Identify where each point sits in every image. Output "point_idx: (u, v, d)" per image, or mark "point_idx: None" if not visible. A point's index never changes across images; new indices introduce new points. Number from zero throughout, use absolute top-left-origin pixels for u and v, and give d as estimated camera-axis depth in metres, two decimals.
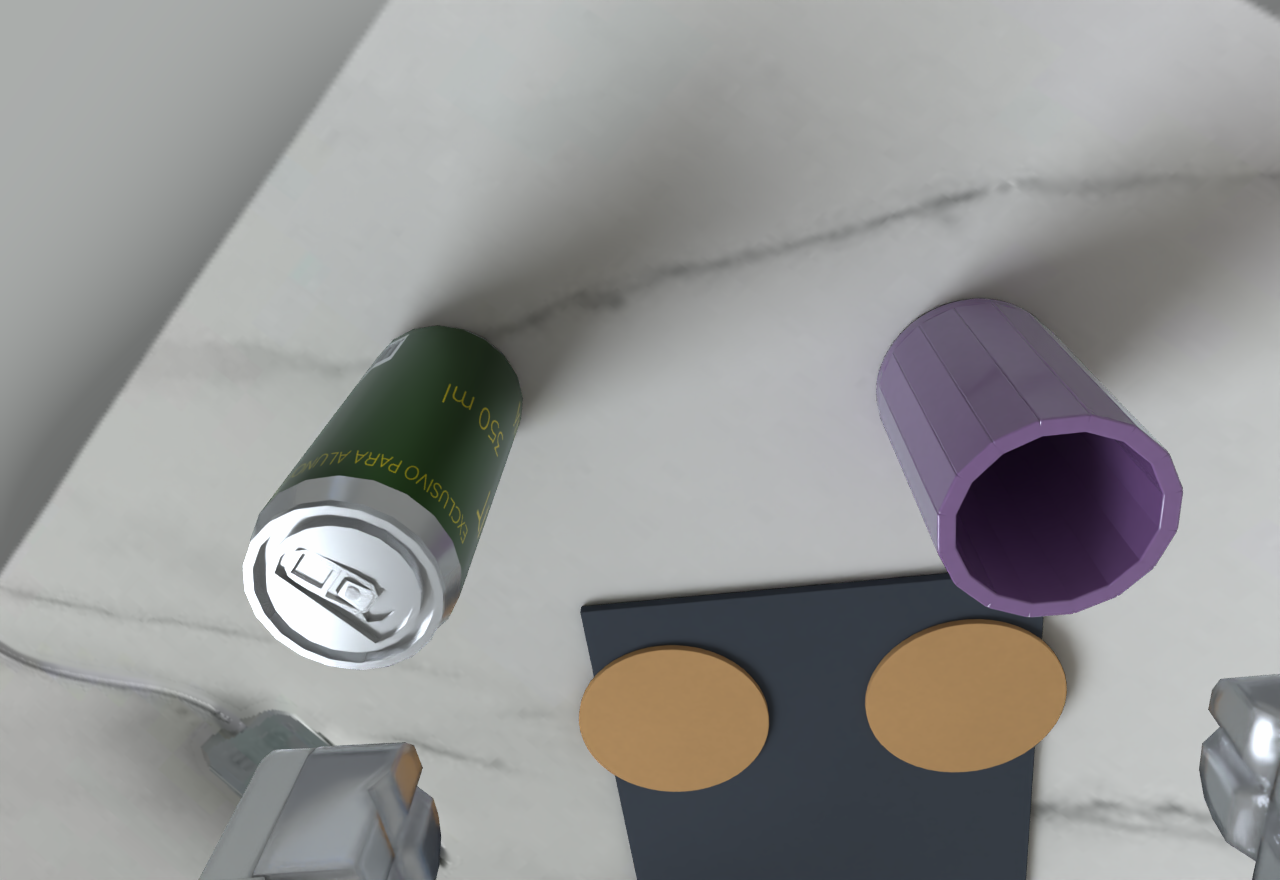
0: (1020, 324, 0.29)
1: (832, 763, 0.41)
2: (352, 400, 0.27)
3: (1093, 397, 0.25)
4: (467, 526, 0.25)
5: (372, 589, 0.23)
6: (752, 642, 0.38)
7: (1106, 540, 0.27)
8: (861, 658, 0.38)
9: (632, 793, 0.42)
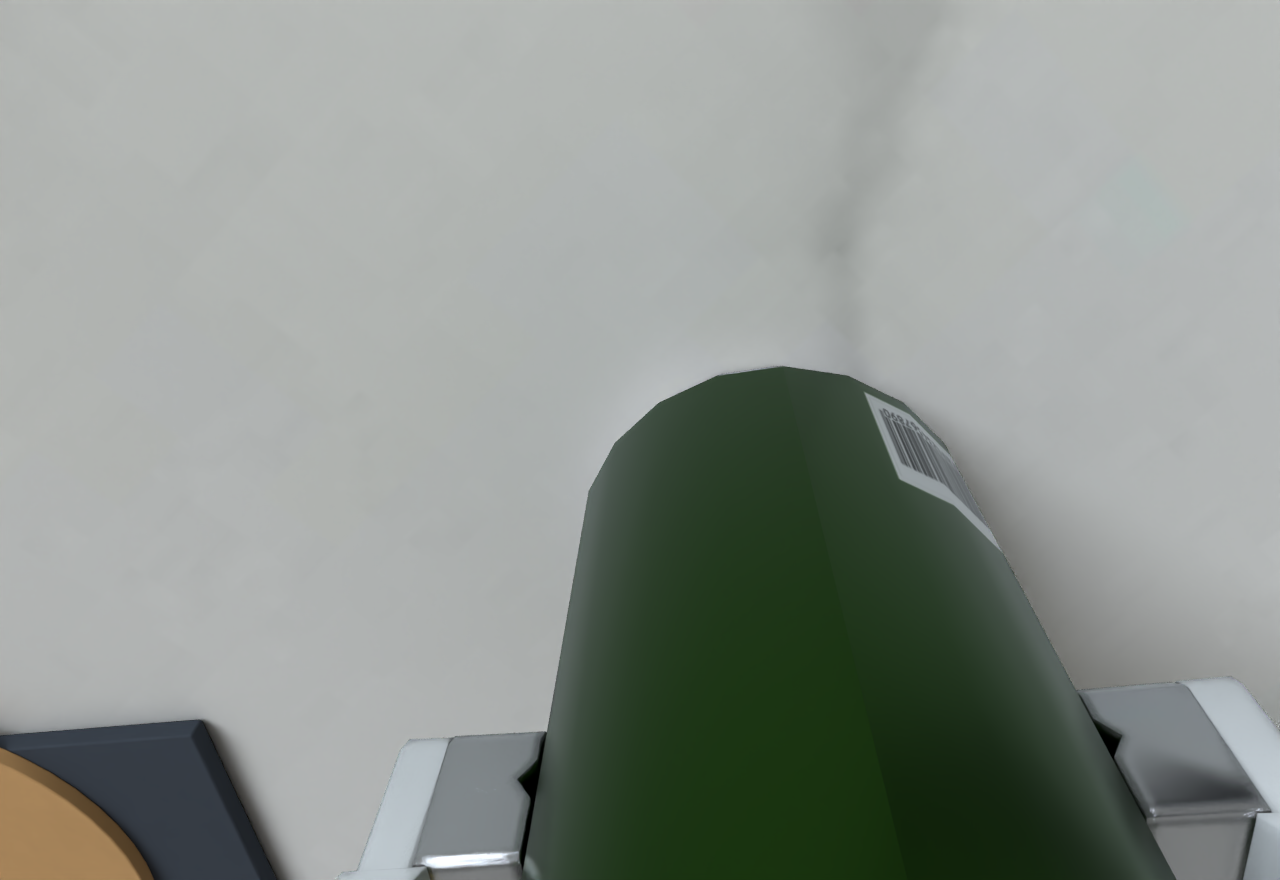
0: None
1: None
2: None
3: None
4: None
5: None
6: None
7: None
8: None
9: None
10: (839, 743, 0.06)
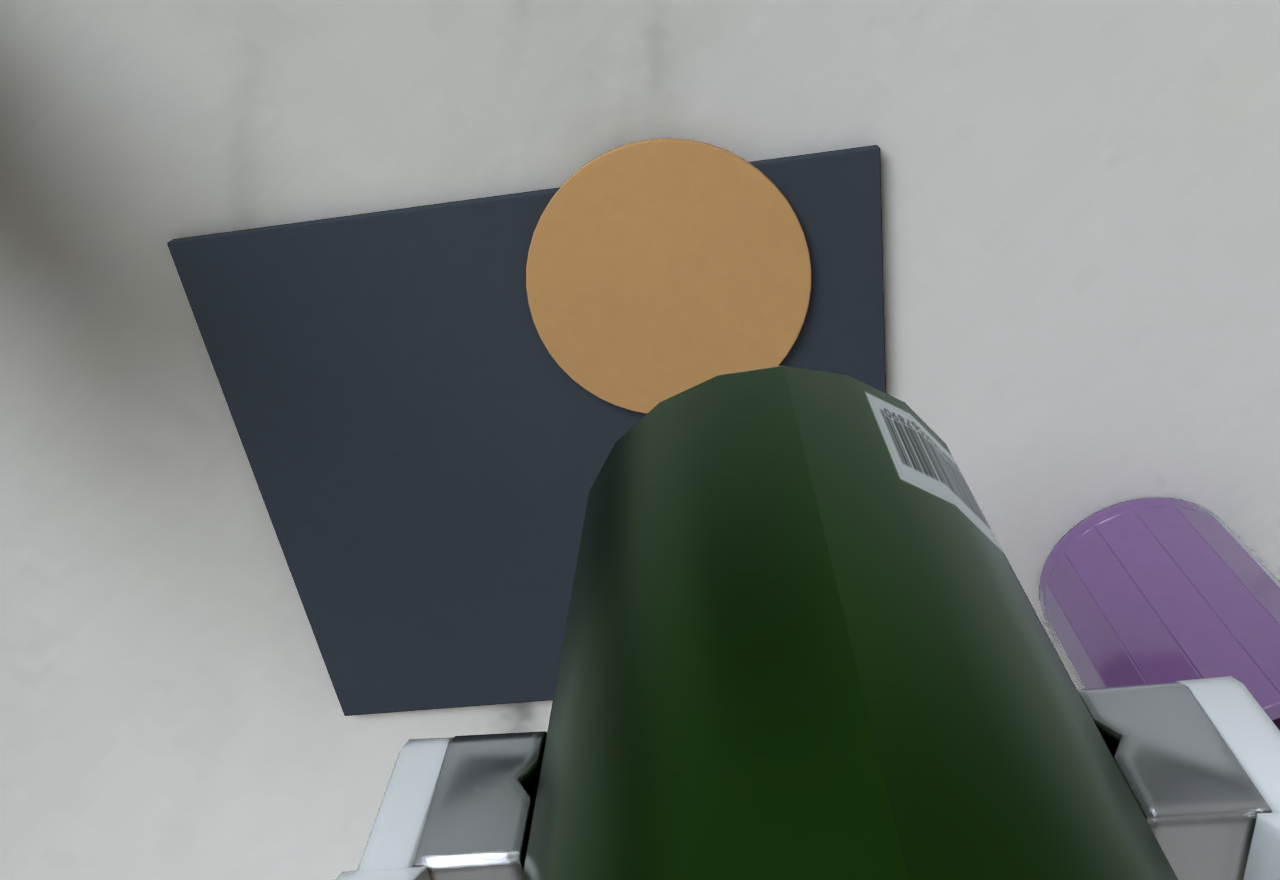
0: None
1: None
2: None
3: None
4: None
5: None
6: None
7: None
8: None
9: (505, 220, 0.26)
10: (841, 743, 0.06)
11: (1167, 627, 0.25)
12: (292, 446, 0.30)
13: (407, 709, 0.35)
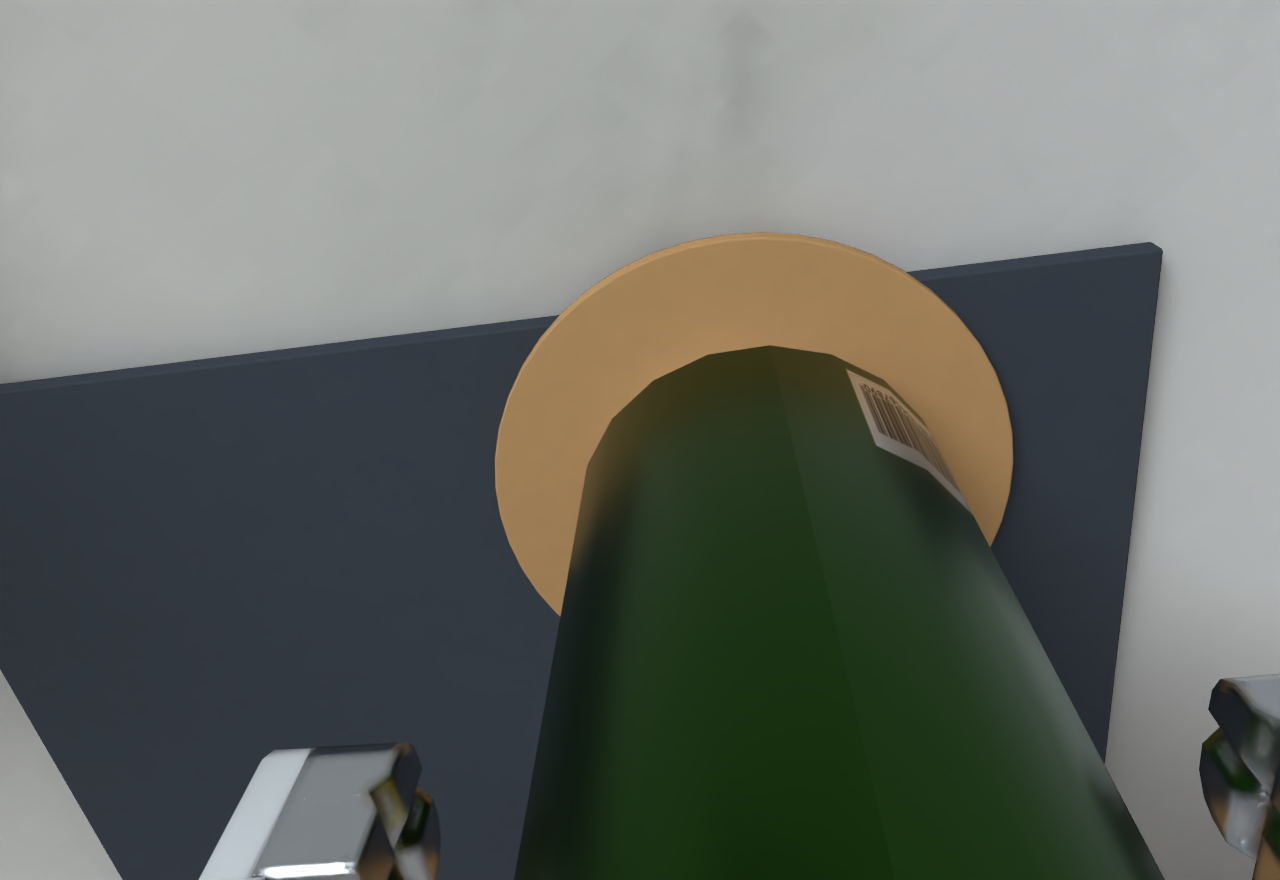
0: None
1: None
2: None
3: None
4: None
5: None
6: None
7: None
8: None
9: (455, 375, 0.14)
10: (814, 665, 0.07)
11: None
12: (112, 721, 0.18)
13: None
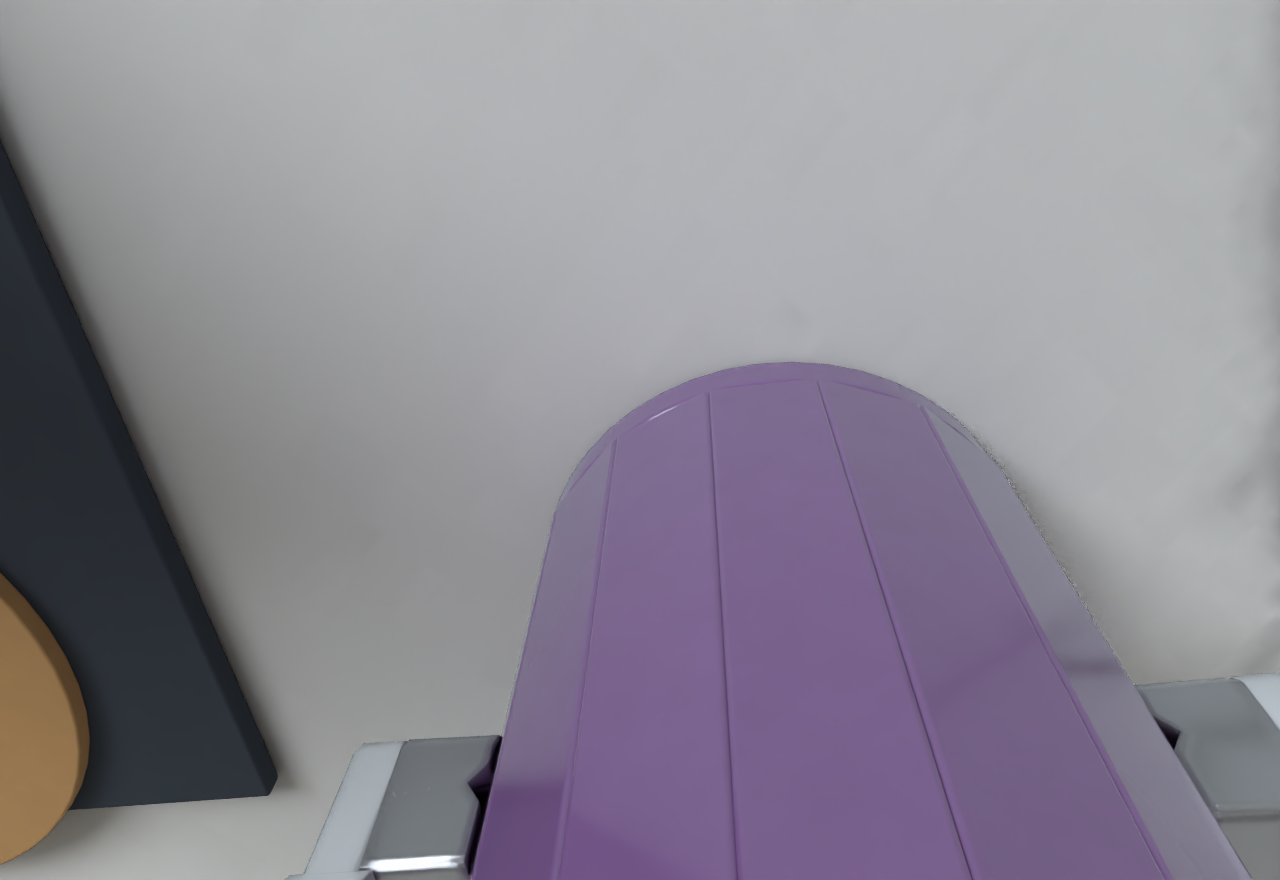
0: None
1: None
2: None
3: None
4: None
5: None
6: None
7: None
8: None
9: None
10: None
11: (582, 760, 0.07)
12: None
13: None
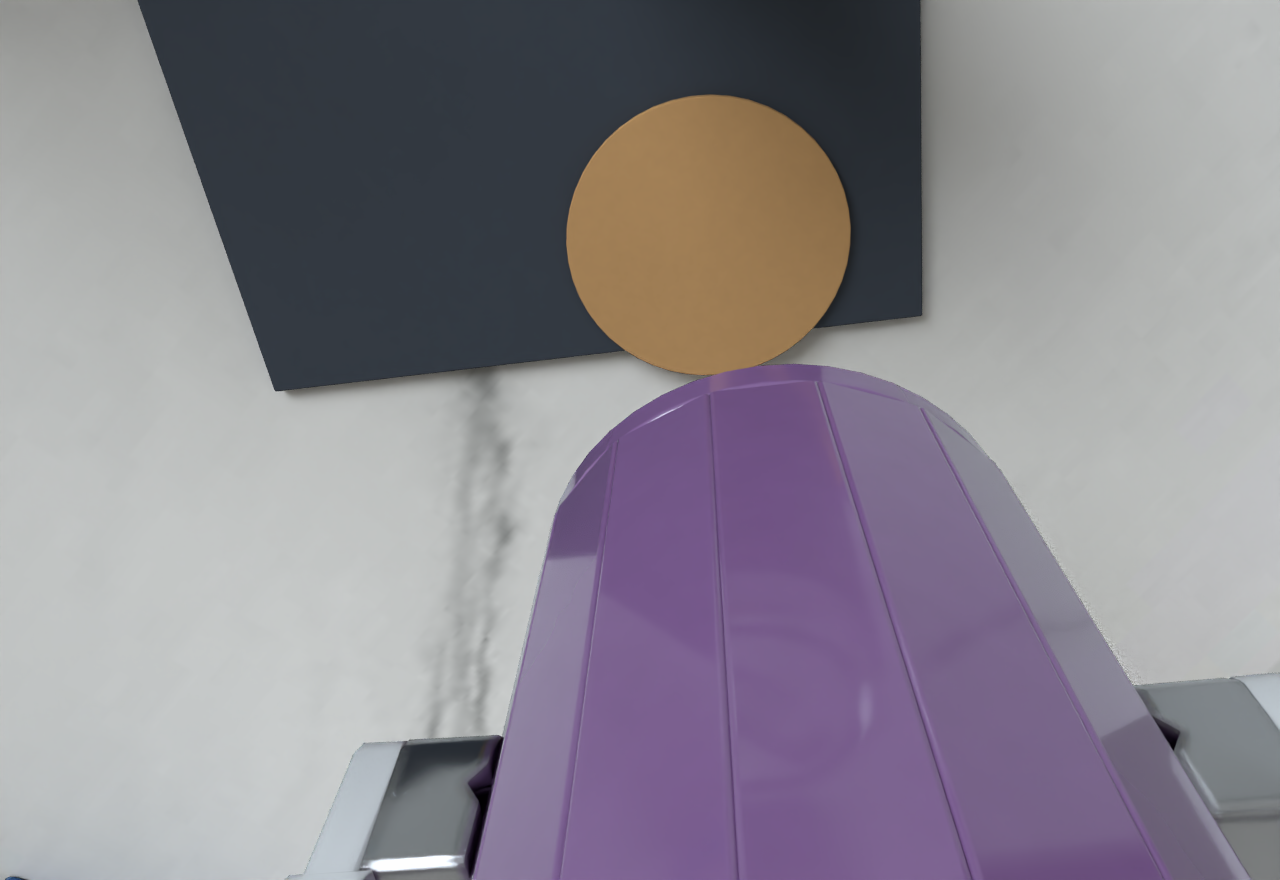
0: None
1: (560, 54, 0.25)
2: None
3: None
4: None
5: None
6: None
7: None
8: (781, 79, 0.25)
9: None
10: None
11: (582, 765, 0.07)
12: None
13: (348, 379, 0.29)
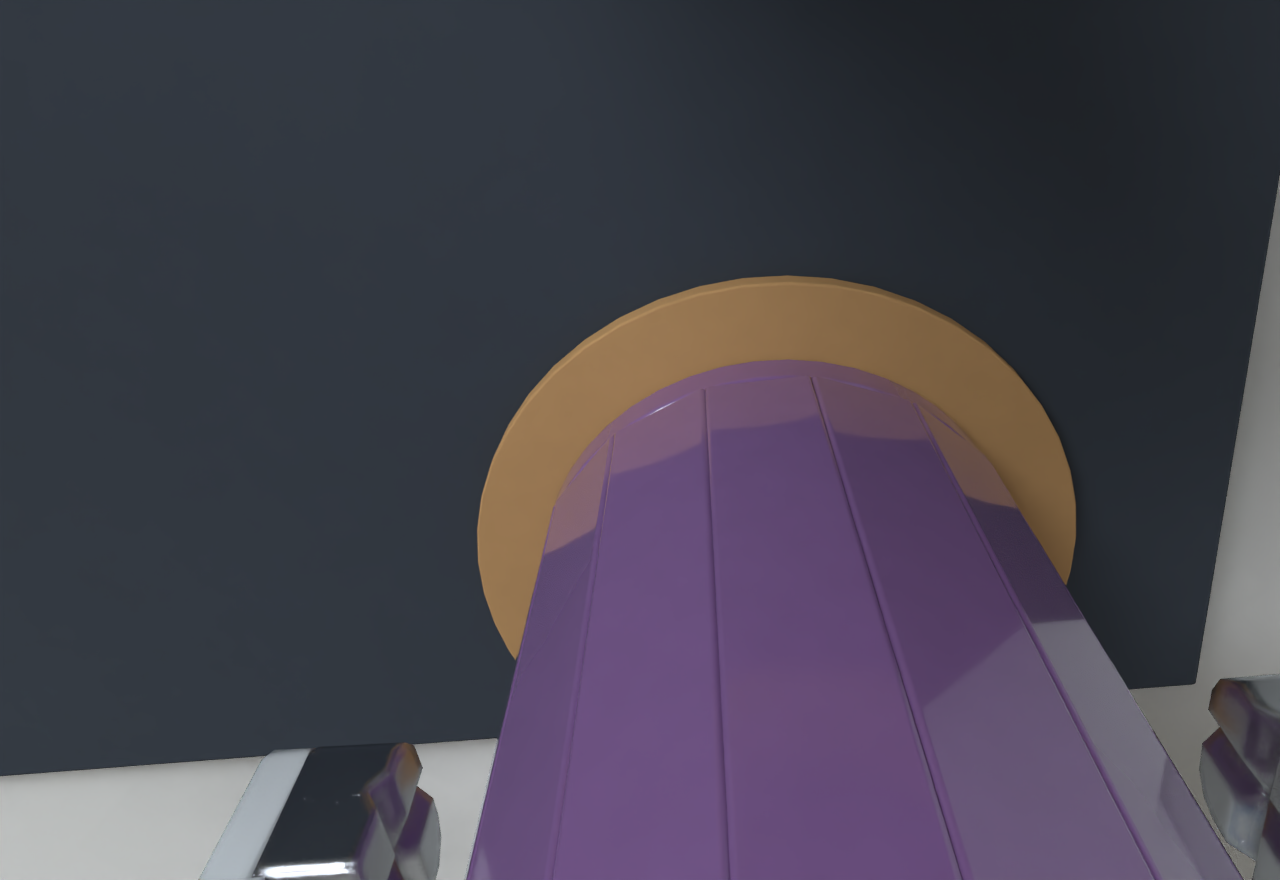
0: None
1: (448, 187, 0.11)
2: None
3: None
4: None
5: None
6: None
7: None
8: (951, 245, 0.11)
9: None
10: None
11: (579, 748, 0.07)
12: None
13: (77, 765, 0.15)
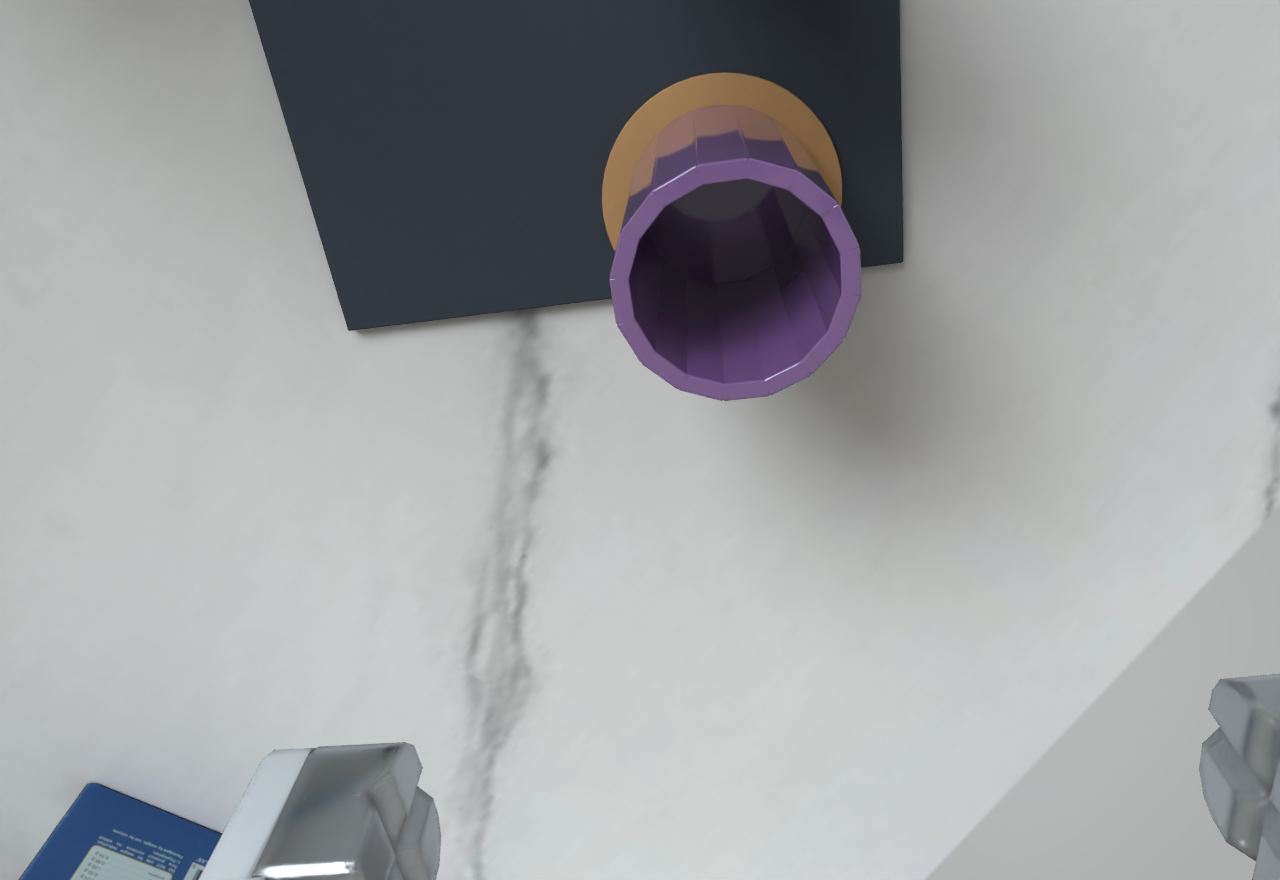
0: None
1: (599, 38, 0.30)
2: None
3: None
4: None
5: None
6: None
7: (675, 345, 0.26)
8: (784, 59, 0.30)
9: None
10: None
11: (658, 164, 0.26)
12: None
13: (411, 319, 0.34)
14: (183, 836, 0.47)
